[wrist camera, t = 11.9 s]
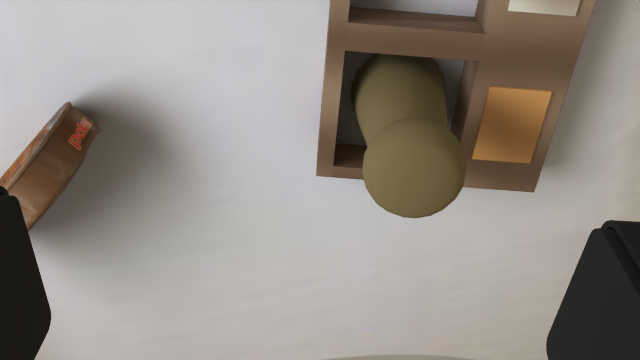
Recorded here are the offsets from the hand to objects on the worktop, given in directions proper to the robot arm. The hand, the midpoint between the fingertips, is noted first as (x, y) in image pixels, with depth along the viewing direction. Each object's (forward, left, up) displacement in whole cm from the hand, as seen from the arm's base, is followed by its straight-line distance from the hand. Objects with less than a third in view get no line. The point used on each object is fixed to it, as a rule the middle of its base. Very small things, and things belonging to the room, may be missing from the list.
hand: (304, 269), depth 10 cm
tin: (+16, -18, -28) cm, 37 cm away
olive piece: (+9, +5, -28) cm, 30 cm away
